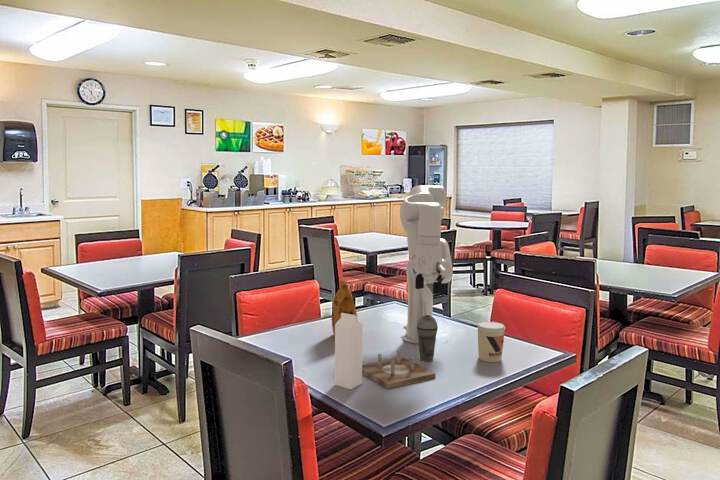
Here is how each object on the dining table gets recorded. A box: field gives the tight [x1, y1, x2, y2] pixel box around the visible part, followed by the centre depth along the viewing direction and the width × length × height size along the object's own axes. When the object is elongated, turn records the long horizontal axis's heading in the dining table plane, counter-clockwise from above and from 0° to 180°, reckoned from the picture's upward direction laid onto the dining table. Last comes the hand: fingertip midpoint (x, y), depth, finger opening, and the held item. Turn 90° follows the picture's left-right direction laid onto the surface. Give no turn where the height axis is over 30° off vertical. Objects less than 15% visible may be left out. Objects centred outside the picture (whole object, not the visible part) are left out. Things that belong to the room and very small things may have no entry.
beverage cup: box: [417, 303, 439, 363], centre depth 195 cm, size 7×7×20 cm
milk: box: [334, 313, 363, 390], centre depth 172 cm, size 6×6×22 cm
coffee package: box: [331, 279, 359, 337], centre depth 219 cm, size 10×12×22 cm
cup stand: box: [362, 349, 437, 390], centre depth 182 cm, size 18×18×6 cm
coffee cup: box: [476, 321, 506, 363], centre depth 197 cm, size 9×9×12 cm
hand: (428, 291), depth 193 cm, fingers open, 9 cm apart
